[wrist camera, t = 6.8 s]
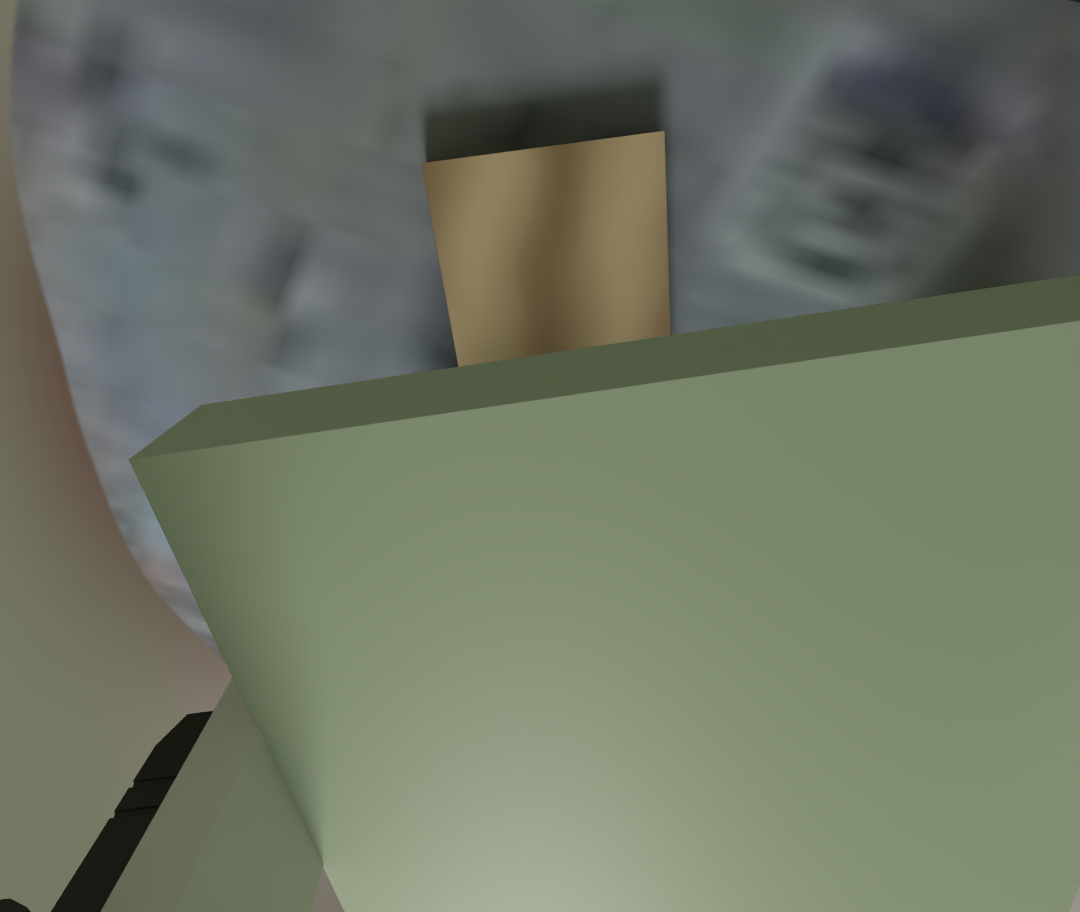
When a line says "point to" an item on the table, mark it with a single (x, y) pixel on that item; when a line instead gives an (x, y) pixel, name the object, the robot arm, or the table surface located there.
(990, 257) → the table surface
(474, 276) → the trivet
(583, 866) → the lid
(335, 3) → the table surface
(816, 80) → the table surface
